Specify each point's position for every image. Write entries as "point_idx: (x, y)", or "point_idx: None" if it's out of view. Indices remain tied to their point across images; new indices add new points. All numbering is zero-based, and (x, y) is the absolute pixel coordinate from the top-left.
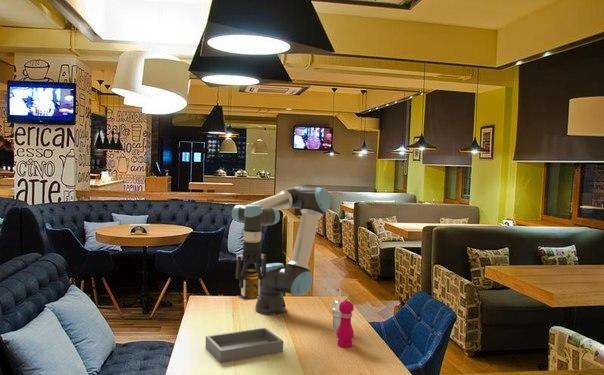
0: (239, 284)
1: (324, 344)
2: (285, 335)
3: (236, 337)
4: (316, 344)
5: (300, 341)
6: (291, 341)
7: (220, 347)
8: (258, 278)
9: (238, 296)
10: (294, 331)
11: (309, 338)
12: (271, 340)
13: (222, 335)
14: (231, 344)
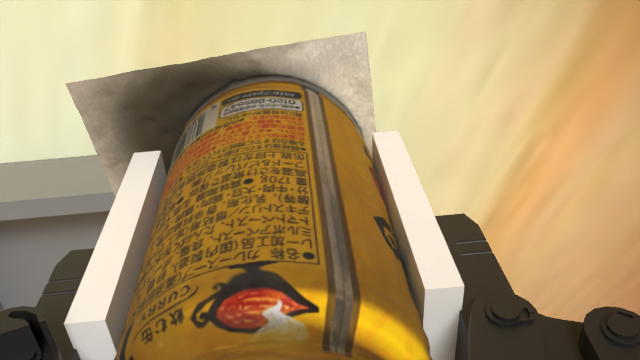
0: (46, 290)
1: (606, 293)
2: (500, 124)
3: None
4: (571, 285)
5: (522, 232)
6: (476, 220)
7: (22, 240)
8: (460, 325)
9: (109, 99)
10: (602, 71)
11: (599, 207)
12: None
13: (16, 216)
14: (96, 216)
